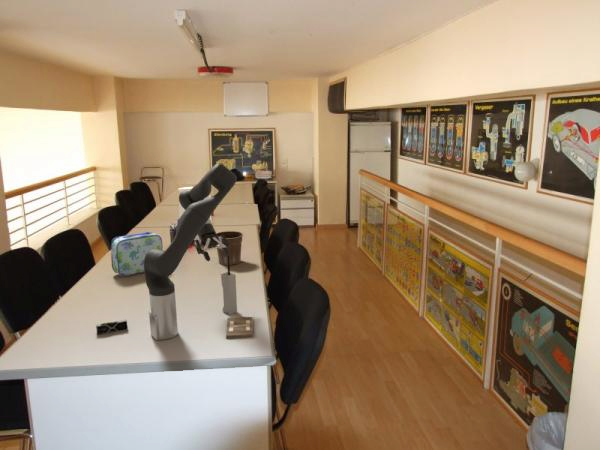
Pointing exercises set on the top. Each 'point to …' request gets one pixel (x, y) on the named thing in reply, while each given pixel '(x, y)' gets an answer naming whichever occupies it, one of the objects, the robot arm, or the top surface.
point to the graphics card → (111, 327)
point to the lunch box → (132, 252)
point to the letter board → (239, 327)
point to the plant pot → (231, 247)
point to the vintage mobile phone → (229, 291)
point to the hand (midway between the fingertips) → (218, 258)
